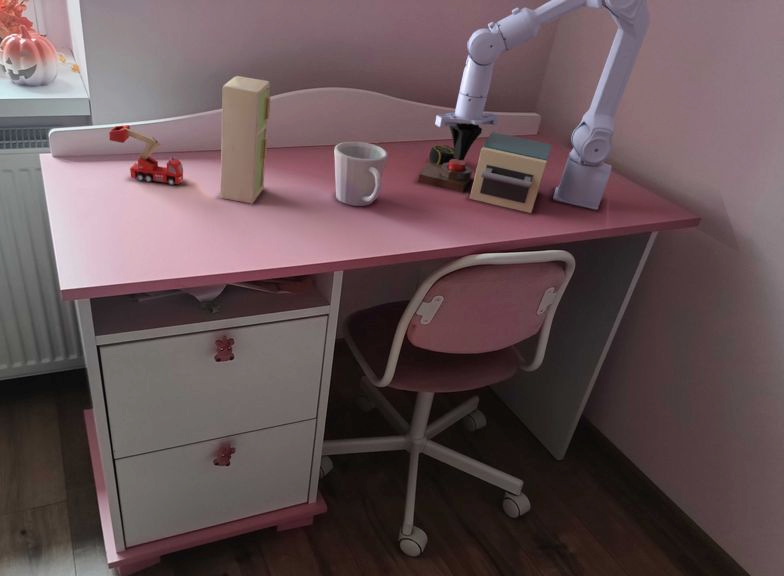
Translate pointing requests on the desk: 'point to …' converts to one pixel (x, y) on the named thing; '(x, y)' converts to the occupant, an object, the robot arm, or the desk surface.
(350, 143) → the mug
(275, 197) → the desk surface
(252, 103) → the toy refrigerator
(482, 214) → the desk surface
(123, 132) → the toy fire truck
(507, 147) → the toy oven
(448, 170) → the timer block
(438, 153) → the tape measure
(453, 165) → the button
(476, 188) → the oven door
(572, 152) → the robot arm
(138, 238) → the desk surface
